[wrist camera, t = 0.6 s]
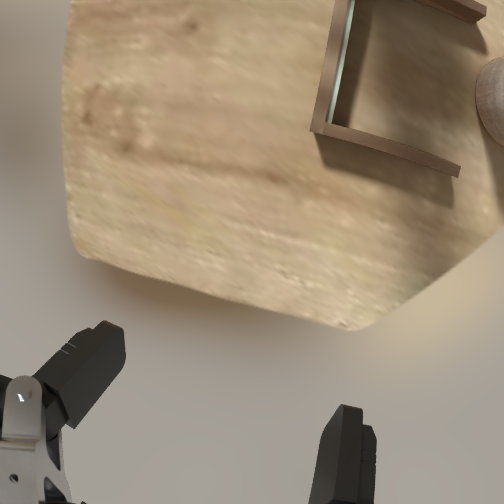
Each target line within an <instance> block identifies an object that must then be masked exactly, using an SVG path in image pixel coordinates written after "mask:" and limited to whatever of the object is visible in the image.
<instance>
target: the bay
mask: <svg viewBox="0 0 504 504" xmlns="http://www.w3.org/2000/svg"><path fill="white" fill-rule="evenodd" d="M414 1H417V2H420V3H423V4H426V5H428V6H431V7H434V8H436V9H439V10H441V11H444V12H446V13H449V14H451V15H453V16H456V17H458V18H460V19H462V20H465V21H467V22H469V23H471V24H474V23H476V22H477V21H479V20H480V19H482V18H483V17H485V16H486V6H484V5H482V4H480V3H478V2H476V1H474V0H414ZM354 5H355V0H335V5H334V11H333V16H332V22H331V27H330V32H329V38H328V43H327V48H326V53H325V58H324V63H323V68H322V73H321V78H320V83H319V88H318V93H317V98H316V103H315V108H314V113H313V117H312V122H311V127H310V132H315V133H319V134H323V135H327V136H331V137H334V138H338V139H342V140H346V141H349V142H353V143H356V144H360V145H363V146H367V147H370V148H373V149H377V150H380V151H383V152H386V153H389V154H392V155H396V156H399V157H402V158H405V159H408V160H410V161H413V162H416V163H419V164H422V165H425V166H427V167H430V168H433V169H436V170H438V171H441V172H444V173H446V174H449V175H451V176H454V177H456V178H458V175H459V172H460V168H461V166H459V165H456V164H454V163H452V162H449V161H447V160H445V159H442V158H439V157H437V156H434V155H431V154H429V153H426V152H423V151H420V150H418V149H415V148H412V147H409V146H406V145H403V144H400V143H397V142H394V141H391V140H388V139H385V138H382V137H378V136H375V135H372V134H368V133H365V132H362V131H358V130H355V129H351V128H347V127H344V126H340V125H336V124H332V119H333V114H334V109H335V105H336V100H337V95H338V90H339V85H340V80H341V75H342V70H343V65H344V60H345V55H346V50H347V44H348V39H349V33H350V28H351V22H352V16H353V11H354Z"/></svg>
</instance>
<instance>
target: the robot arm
mask: <svg viewBox="0 0 504 504" xmlns="http://www.w3.org/2000/svg"><path fill="white" fill-rule="evenodd" d="M125 359H126V352H125V341H124V331H123V329H122V328H120V327H119V326H116V325H114V324H112V323H110V322H108V321H102V322H101V323H100V324H98V325H97V326H96V327H95V328H94V329H91V328H87V329H85V330H82V331H80V332H78V333H76V334H75V335H74V336H73V337H72V338H71V339H70V340H69V341H68V343H66V344H65V345H64V346H63V347H62V348H61V350H59V351H58V352H56V353H55V354H54V355H53V356H52V357H51V358H50V359H49V360H48V361H47V362H46V363H45V364H44V365H43V366H42V367H41V368H40V369H39V370H38V371H37V372H36V373H35V374H34V375H33V376H19V377H16V378H14V379H11V378H8V377H6V376H3V375H0V504H75V503H72V498H71V493H70V488H69V485H68V482H67V480H66V477H65V471H64V460H63V448H62V433H61V428H62V427H63V426H64V425H65V423H66V424H67V425H69V426H70V427H72V428H73V429H75V428H76V427H77V425H78V424H79V423H80V422H81V420H82V419H83V418H84V416H85V415H86V414H87V413H88V411H89V410H90V409H91V407H92V406H93V405H94V403H96V401H97V400H98V399H99V397H100V396H101V395H102V393H103V392H104V391H105V390H106V389H107V387H108V386H109V385H110V384H111V382H112V381H113V380H114V379H115V377H116V376H117V375H118V374H119V372H120V371H121V370H122V368H123V366H124V363H125ZM376 444H377V440H376V436H375V434H374V431H373V429H372V427H371V426H369V425H363V410H362V409H361V408H357V407H352V406H347V405H343V404H341V405H340V406H339V407H338V409H337V410H336V412H335V413H334V415H333V416H332V418H331V419H330V421H329V422H328V424H327V425H326V427H325V429H324V431H323V433H322V436H321V439H320V444H319V450H318V456H317V462H316V468H315V473H314V478H313V483H312V488H311V494H310V498H309V503H308V504H374V491H375V474H376V466H375V463H376ZM81 504H86V503H85V502H83V501H82V503H81Z"/></svg>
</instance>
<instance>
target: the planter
mask: <svg viewBox="0 0 504 504" xmlns="http://www.w3.org/2000/svg"><path fill="white" fill-rule="evenodd" d="M476 104H477V109H478V113H479V116H480V118H481V121H482V123H483V125H484V127H485V128H486V130H487V131H488V133H489V134H490V135H491V137H492V138H493V139H494V140H495V141H496V142H497V143H499V144H500V145H501V146H503V147H504V56H503V57H500V58H496V59H494V60H492V61H490V62H489V63H488V64H486V65H485V66H484V67H483V69H482V70H481V72H480V74H479V76H478V79H477V83H476Z"/></svg>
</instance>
